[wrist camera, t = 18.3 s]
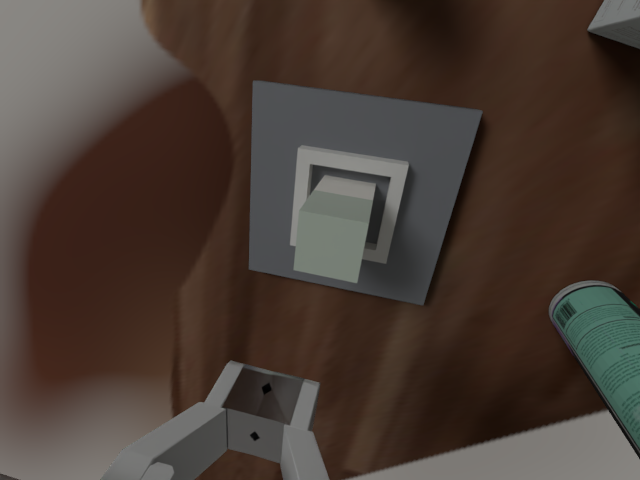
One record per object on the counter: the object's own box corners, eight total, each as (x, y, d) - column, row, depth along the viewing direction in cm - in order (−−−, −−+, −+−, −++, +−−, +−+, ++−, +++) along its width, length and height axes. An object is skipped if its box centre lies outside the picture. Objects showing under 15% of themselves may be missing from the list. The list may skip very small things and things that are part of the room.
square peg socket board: (260, 80, 26) (246, 80, 23) (477, 109, 24) (487, 112, 21) (254, 261, 33) (243, 276, 31) (422, 295, 31) (424, 313, 29)
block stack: (324, 174, 26) (299, 210, 19) (376, 183, 26) (368, 223, 19) (318, 221, 28) (293, 270, 21) (366, 230, 28) (357, 283, 21)
